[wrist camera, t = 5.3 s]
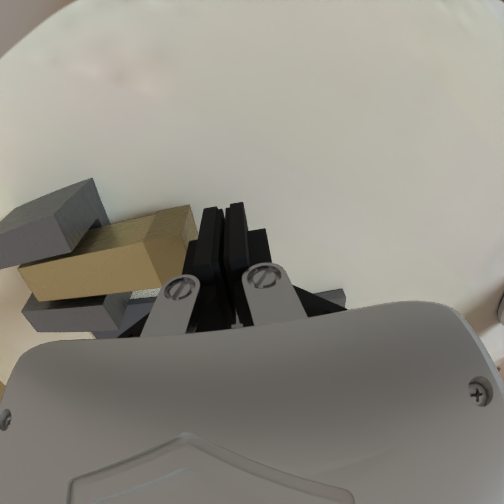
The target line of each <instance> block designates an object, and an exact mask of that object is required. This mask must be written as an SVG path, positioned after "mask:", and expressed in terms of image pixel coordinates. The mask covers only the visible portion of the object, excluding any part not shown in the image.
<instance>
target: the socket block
mask: <svg viewBox="0 0 504 504" xmlns="http://www.w3.org/2000/svg"><path fill="white" fill-rule="evenodd" d="M107 225H110V222H109V220H108V217H107V215H106V213H105V210H104V208H103V205H102V202H101V200H100V197H99V195H98V192H97V189H96V187H95V184H94V181H93V178H90V179H87V180H84V181H82V182H79V183H76V184H73V185H71V186H68V187H65V188H63V189H60V190H57V191H55V192H52V193H50V194H47V195H45V196H43V197H40V198H38V199H35V200H33V201H31V202H28V203H26V204H24V205H22V206H20V207H17V208H15V209H14V210H13V211H11V212H10V213H9V214H8V215H7V216H6V217H5V218H4V219H3V220H2V221H1V222H0V269H3V268H7V267H11V266H15V265H19V264H23V263H27V262H31V261H35V260H40V259H44V258H48V257H52V256H57V255H61V254H65V253H70V252H72V251H73V250H74V248H75V247H76V245H77V244H78V243H79V241H80V240H81V239H82V237H83V236H84V234H85V233H86V232H87V230H91V229H95V228H99V227H103V226H107ZM132 292H133V291H129V292H121V293H113V294H105V295H96V296H87V297H78V298H69V299H60V300H50V301H40V302H39V301H38V300H37V298H36V297H35V296H34V294H33V293H32V294H31V296H30V298H29V299H28V301H27V302H26V304H25V306H24V308H23V309H22V311H21V312H22V313H23V315H24V316H25V317H26V319H27V320H28V321H29V322H30V324H31V325H32V326H33V327H34V329H35V330H36V331H37V332H88V331H113V330H119V329H120V326H121V323H122V320H123V317H124V314H125V311H126V309H127V306H128V303H129V300H130V297H131V294H132Z"/></svg>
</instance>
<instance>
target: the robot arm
mask: <svg viewBox="0 0 504 504" xmlns="http://www.w3.org/2000/svg"><path fill="white" fill-rule="evenodd" d="M236 312H237V315H238V319H239V322H240V324H243V327H241V328H233V329H232V325H235V324H236ZM498 319H499V321H500V322H501V324H502V325H504V297H503V299H502V301H501V303H500V306H499V310H498ZM0 504H504V383H503V381H502V378H501V376H500V374H499V372H498V370H497V368H496V366H495V364H494V362H493V360H492V358H491V357H490V355H489V353H488V351H487V350H486V348H485V346H484V344H483V343H482V341H481V340H480V338H479V337H478V335H477V334H476V332H475V331H474V330H473V328H472V327H471V326H470V325H469V323H468V322H467V321H466V320H465V319H464V318H463V317H462V316H461V315H460V314H459V313H458V312H457V311H455V310H454V309H453V308H451V307H449V306H446V305H443V304H440V303H435V302H426V301H399V302H391V303H384V304H378V305H373V306H368V307H362V308H357V309H351V310H348V309H346V308H344V307H342V306H340V305H338V304H335V303H333V302H331V301H328V300H326V299H324V298H321V297H319V296H317V295H315V294H312V293H310V292H308V291H305V290H303V289H301V288H299V287H296V286H294V285H292V283H291V281H290V279H289V277H288V275H287V273H286V271H285V270H284V269H283V267H281V266H280V265H278V264H274V263H272V260H271V255H270V250H269V245H268V239H267V234H266V229H258V230H252V231H248V226H247V220H246V215H245V209H244V204H243V202H239V203H233V204H230V208H226V212H225V218H224V214H223V210H222V209H218V208H217V206H216V207H210V208H205V209H204V210H203V215H202V220H201V225H200V230H199V235H198V239H197V240H191V241H189V243H188V248H187V252H186V256H185V261H184V265H183V270H182V275H179V276H176V277H173V278H172V279H170V280H168V281H167V282H166V283H165V284H164V285H163V286H162V288H161V289H160V292H159V294H158V296H157V298H156V301H155V303H154V305H153V307H152V310H151V312H149V313H148V314H147V315H145V316H144V317H143V318H141V319H140V320H139V321H138V322H136V323H135V324H134V325H132V326H131V327H130V328H128V329H127V330H126V331H124V332H123V333H122V334H120V335H119V336H118V337H117V338H111V339H79V340H60V341H53V342H48V343H44V344H40V345H38V346H36V347H33V348H31V349H30V350H28V351H26V352H25V353H24V354H22V355H21V357H20V358H19V360H18V361H17V363H16V365H15V367H14V369H13V370H12V373H11V375H10V377H9V379H8V382H7V385H6V388H5V390H4V393H3V396H2V399H1V402H0Z"/></svg>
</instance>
